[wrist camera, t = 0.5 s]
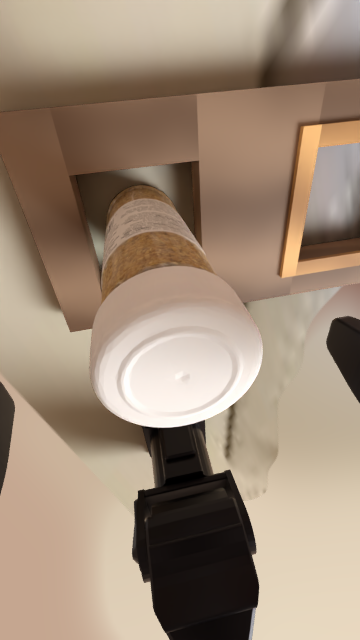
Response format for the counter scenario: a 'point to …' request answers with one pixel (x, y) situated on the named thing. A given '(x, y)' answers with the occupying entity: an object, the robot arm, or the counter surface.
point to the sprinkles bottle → (166, 321)
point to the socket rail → (207, 182)
